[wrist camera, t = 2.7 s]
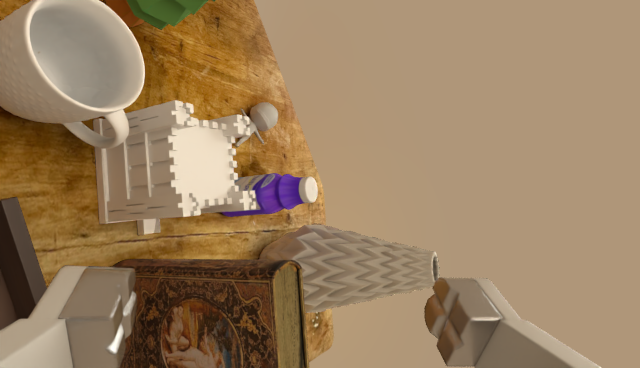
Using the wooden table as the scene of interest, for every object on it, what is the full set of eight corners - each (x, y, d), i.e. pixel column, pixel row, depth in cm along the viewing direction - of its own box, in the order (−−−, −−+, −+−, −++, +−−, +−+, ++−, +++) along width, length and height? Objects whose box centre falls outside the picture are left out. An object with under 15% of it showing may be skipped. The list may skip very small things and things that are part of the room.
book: (106, 263, 48) (271, 265, 36) (145, 256, 53) (301, 256, 41) (113, 397, 47) (283, 444, 35) (152, 377, 52) (312, 413, 40)
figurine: (226, 121, 67) (270, 88, 73) (212, 126, 71) (255, 94, 77) (251, 159, 70) (291, 124, 77) (236, 161, 74) (275, 127, 80)
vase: (300, 278, 87) (450, 282, 72) (260, 327, 73) (436, 346, 58) (280, 211, 82) (436, 200, 67) (233, 250, 68) (417, 248, 53)
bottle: (229, 172, 69) (313, 161, 61) (243, 198, 72) (325, 190, 64) (207, 197, 64) (296, 188, 56) (222, 223, 67) (309, 218, 58)
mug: (112, 127, 50) (184, 110, 44) (44, 182, 42) (119, 170, 36) (23, 14, 42) (95, -27, 36) (-81, 56, 34) (-12, 12, 28)
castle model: (176, 131, 59) (249, 115, 52) (182, 228, 59) (258, 225, 52) (93, 120, 48) (173, 98, 41) (100, 240, 47) (183, 238, 41)
